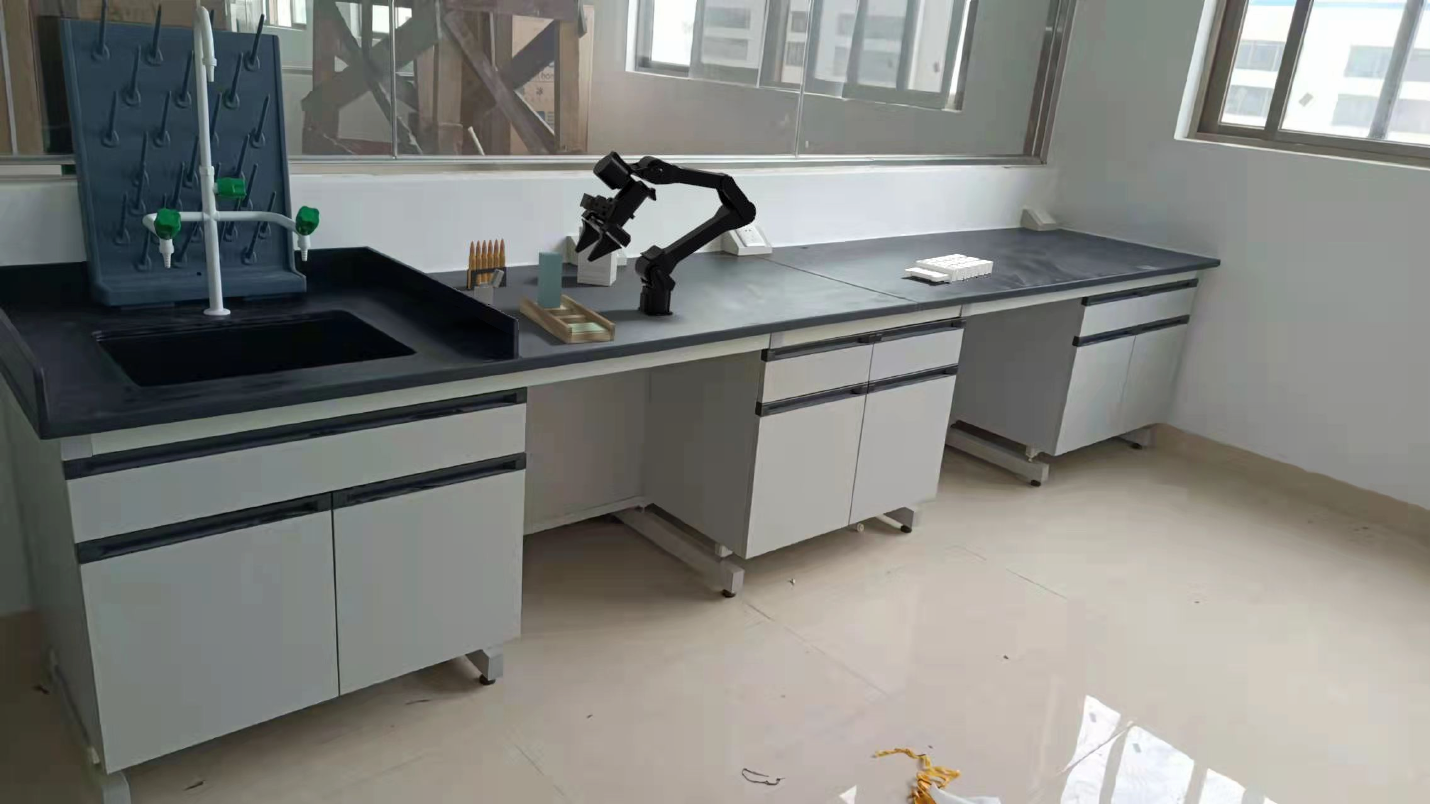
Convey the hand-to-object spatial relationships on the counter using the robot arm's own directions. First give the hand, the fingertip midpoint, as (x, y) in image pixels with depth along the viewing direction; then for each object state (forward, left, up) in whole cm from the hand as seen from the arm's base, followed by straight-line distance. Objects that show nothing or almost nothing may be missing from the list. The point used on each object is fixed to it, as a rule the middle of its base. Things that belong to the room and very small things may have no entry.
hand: (582, 256), depth 227 cm
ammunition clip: (+12, -28, -14) cm, 33 cm away
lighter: (+17, -13, -14) cm, 25 cm away
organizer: (-136, -18, -14) cm, 138 cm away
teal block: (+7, -1, -12) cm, 14 cm away
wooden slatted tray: (+7, +7, -14) cm, 17 cm away
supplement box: (-19, -30, -14) cm, 38 cm away
